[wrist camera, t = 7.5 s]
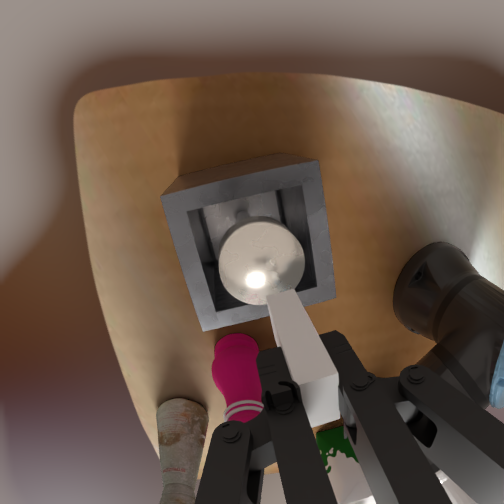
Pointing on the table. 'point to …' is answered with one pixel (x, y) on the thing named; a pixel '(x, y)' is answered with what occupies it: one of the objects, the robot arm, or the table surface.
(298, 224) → the tower
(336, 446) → the milk carton
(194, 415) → the bottle
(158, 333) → the table surface
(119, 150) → the table surface
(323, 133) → the table surface
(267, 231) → the plunger
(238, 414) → the pepper mill
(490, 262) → the table surface
